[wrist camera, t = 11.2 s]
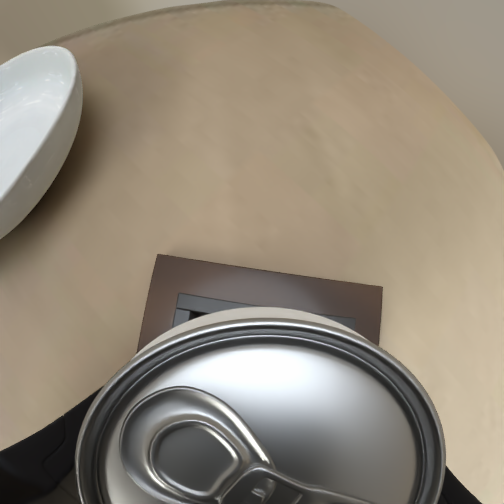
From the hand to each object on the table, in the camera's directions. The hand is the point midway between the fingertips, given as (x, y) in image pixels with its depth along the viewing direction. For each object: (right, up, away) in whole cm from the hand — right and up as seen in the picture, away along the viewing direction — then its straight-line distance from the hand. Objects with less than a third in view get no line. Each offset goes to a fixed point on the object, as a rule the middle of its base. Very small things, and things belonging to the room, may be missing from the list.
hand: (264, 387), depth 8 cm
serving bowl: (-23, +12, +14) cm, 29 cm away
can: (0, -4, +6) cm, 7 cm away
